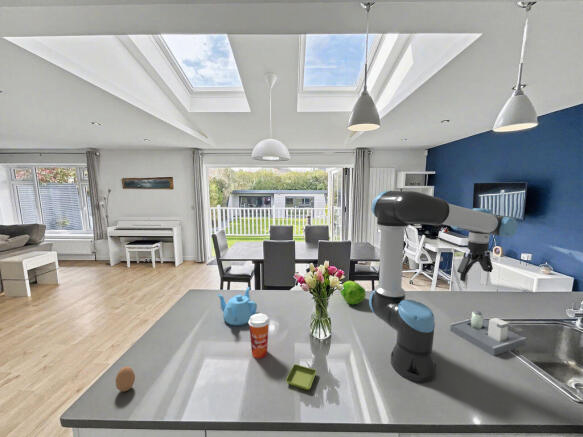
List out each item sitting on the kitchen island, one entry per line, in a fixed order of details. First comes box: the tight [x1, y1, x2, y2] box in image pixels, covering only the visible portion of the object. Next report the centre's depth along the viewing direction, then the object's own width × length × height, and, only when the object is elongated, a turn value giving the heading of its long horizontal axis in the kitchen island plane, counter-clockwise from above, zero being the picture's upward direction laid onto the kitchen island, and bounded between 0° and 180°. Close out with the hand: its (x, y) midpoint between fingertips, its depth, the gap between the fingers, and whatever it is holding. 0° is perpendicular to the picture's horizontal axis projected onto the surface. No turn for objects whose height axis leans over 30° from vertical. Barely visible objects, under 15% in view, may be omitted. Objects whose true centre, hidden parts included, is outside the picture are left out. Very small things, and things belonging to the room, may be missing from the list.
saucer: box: [285, 363, 317, 391], centre depth 83 cm, size 9×9×2 cm
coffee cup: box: [247, 313, 271, 359], centre depth 95 cm, size 8×8×15 cm
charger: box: [488, 317, 509, 342], centre depth 102 cm, size 5×4×10 cm
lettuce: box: [340, 280, 366, 306], centre depth 142 cm, size 14×20×12 cm
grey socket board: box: [449, 318, 527, 357], centre depth 106 cm, size 20×18×3 cm
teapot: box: [216, 286, 259, 327], centre depth 122 cm, size 17×19×12 cm
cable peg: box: [470, 310, 484, 330], centre depth 110 cm, size 4×4×10 cm
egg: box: [115, 366, 136, 393], centre depth 78 cm, size 5×5×8 cm
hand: (473, 286), depth 113 cm, fingers open, 13 cm apart
